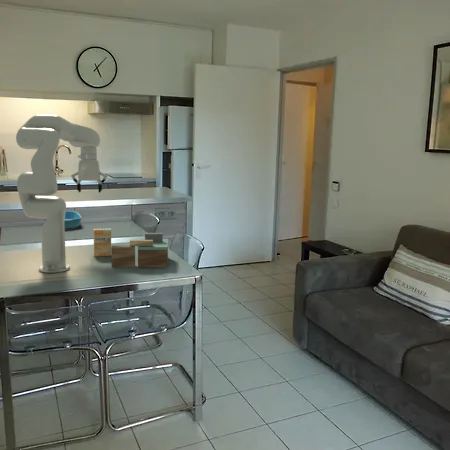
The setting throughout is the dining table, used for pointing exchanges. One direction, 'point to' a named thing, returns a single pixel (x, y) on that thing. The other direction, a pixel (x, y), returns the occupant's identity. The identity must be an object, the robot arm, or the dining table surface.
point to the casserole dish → (71, 219)
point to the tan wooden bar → (141, 242)
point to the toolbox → (146, 258)
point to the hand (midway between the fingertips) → (89, 192)
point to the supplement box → (102, 242)
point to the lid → (155, 242)
